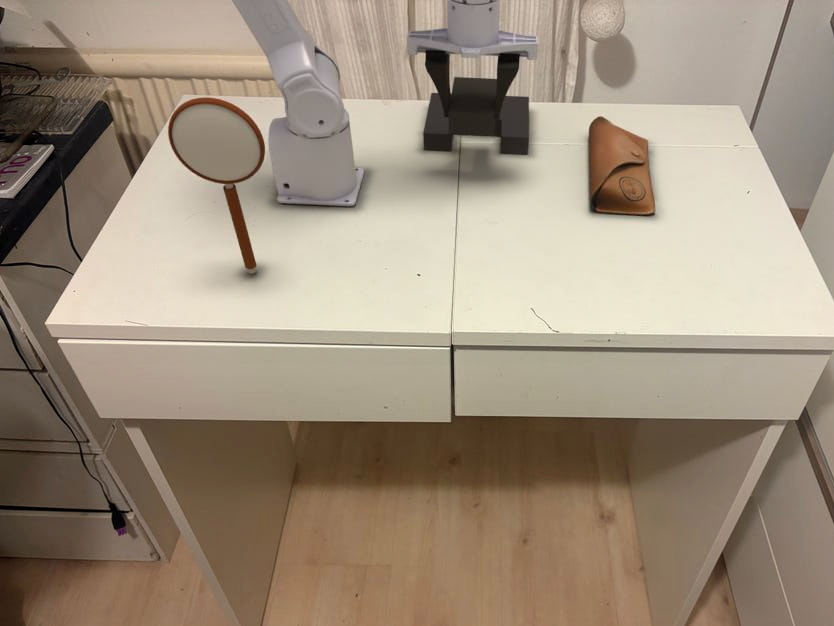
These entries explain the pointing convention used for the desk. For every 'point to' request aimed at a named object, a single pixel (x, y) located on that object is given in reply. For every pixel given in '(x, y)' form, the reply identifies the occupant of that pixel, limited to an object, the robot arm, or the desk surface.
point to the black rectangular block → (472, 107)
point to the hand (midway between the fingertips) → (471, 114)
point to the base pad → (508, 126)
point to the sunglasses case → (619, 170)
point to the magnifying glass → (220, 153)
